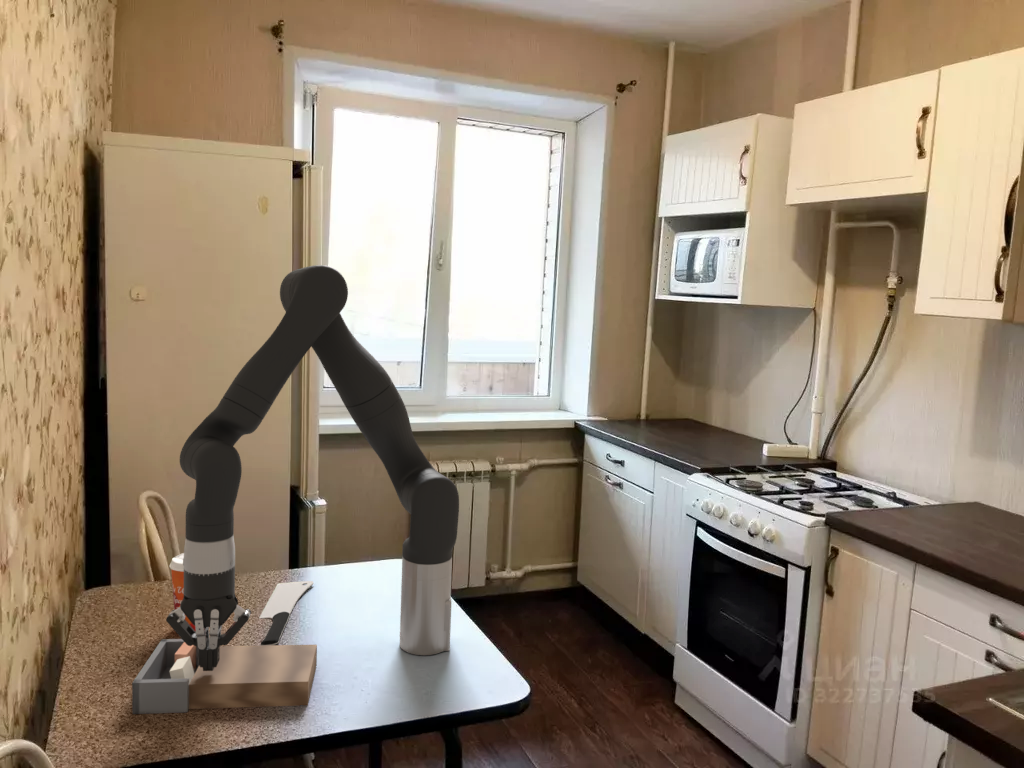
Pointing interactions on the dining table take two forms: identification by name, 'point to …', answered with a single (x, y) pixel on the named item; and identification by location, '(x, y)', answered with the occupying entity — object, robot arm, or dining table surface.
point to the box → (161, 682)
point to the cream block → (182, 669)
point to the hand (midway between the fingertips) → (209, 668)
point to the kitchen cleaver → (282, 608)
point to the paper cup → (178, 583)
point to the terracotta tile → (187, 653)
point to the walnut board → (256, 677)
